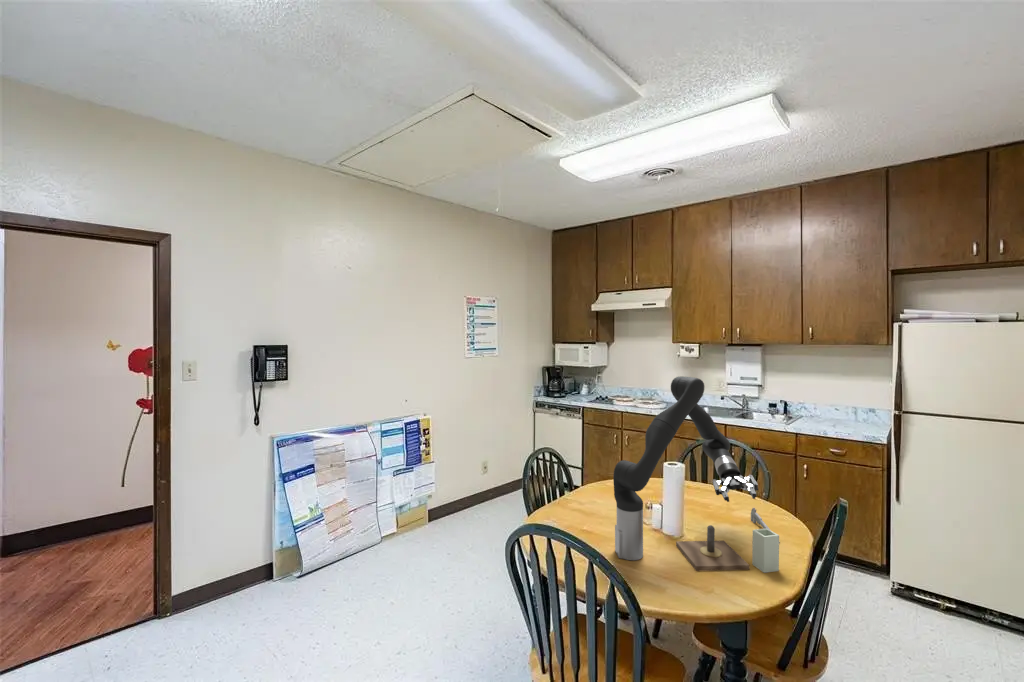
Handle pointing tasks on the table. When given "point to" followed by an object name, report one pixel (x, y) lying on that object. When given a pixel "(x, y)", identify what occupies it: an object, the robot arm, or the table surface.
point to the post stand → (711, 554)
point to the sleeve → (765, 550)
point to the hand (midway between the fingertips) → (741, 498)
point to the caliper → (757, 519)
